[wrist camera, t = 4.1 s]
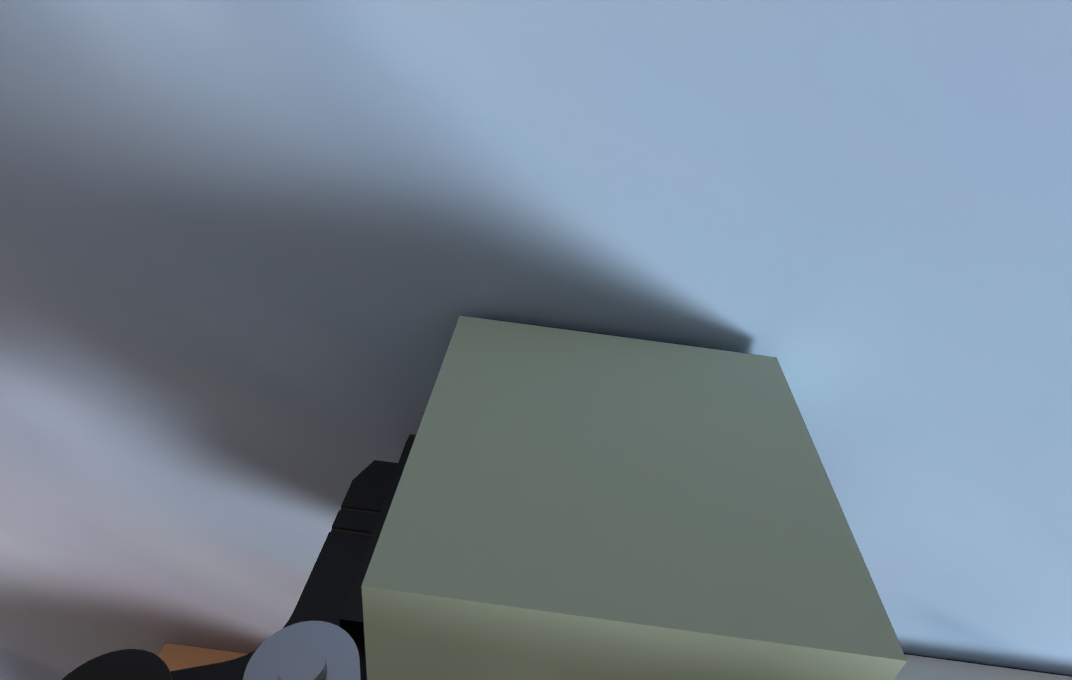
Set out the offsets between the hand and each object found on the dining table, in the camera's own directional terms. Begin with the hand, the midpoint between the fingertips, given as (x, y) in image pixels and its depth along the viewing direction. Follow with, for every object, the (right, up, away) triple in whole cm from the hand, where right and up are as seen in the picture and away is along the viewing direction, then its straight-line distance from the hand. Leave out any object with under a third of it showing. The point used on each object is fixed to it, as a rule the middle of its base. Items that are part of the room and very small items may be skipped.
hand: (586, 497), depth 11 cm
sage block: (0, 0, 0) cm, 0 cm away
